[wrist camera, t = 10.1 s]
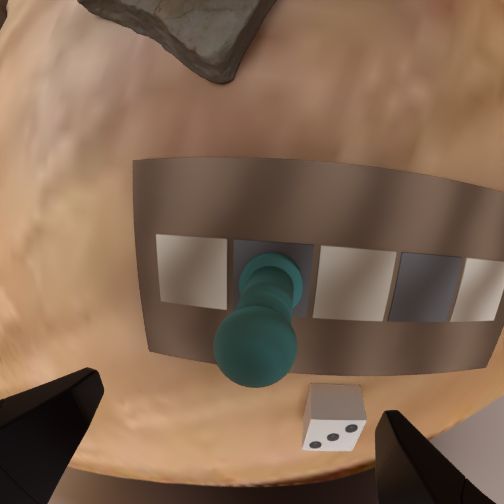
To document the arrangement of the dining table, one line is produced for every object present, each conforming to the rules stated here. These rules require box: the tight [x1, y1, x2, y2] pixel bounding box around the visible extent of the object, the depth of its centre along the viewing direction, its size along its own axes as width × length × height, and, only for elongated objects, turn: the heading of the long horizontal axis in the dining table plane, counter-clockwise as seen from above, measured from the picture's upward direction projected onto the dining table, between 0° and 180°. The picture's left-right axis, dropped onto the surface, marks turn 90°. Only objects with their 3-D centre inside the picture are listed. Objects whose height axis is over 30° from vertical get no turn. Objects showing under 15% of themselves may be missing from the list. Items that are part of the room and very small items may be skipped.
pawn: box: [213, 252, 303, 388], centre depth 13 cm, size 4×4×8 cm
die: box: [302, 383, 367, 451], centre depth 19 cm, size 4×4×4 cm
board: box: [133, 157, 504, 376], centre depth 17 cm, size 28×14×1 cm, turn 88°
